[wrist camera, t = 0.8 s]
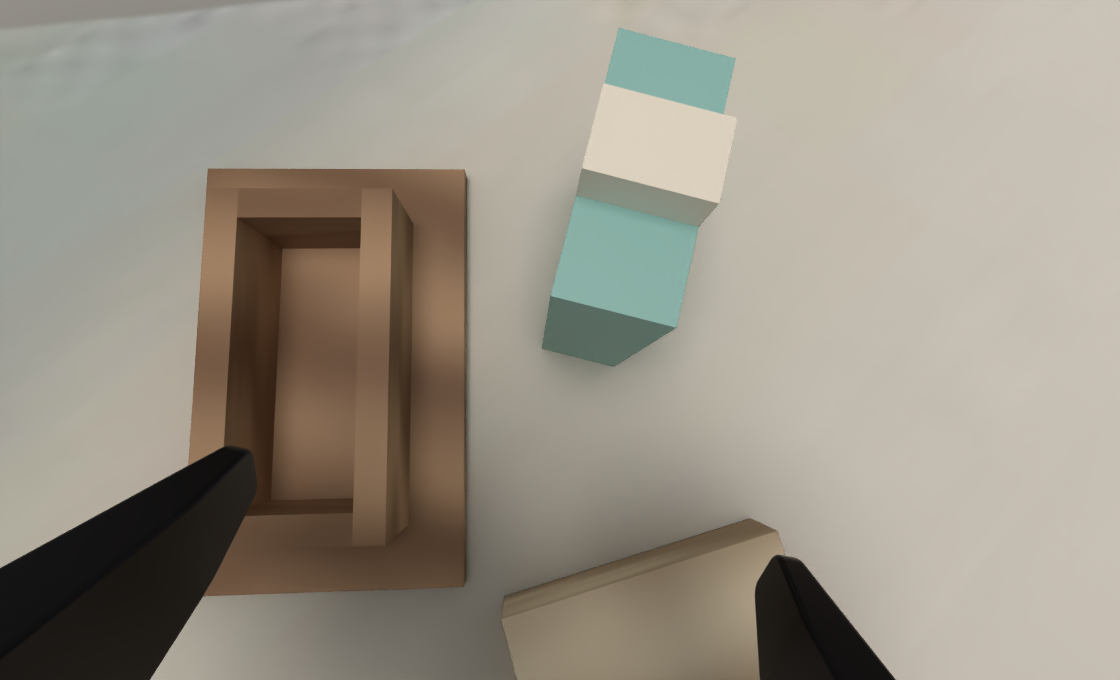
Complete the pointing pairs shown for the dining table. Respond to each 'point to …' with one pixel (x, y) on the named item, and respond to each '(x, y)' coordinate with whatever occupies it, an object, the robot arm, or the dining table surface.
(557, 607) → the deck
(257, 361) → the tray
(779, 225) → the dining table surface
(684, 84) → the teal rectangular box
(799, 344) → the dining table surface
